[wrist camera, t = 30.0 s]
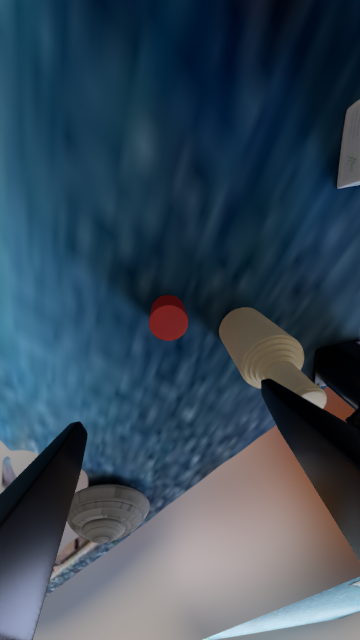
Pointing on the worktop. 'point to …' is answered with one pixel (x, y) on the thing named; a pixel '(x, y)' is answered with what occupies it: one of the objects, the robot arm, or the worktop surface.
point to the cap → (168, 318)
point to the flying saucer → (107, 512)
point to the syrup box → (350, 149)
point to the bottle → (267, 353)
